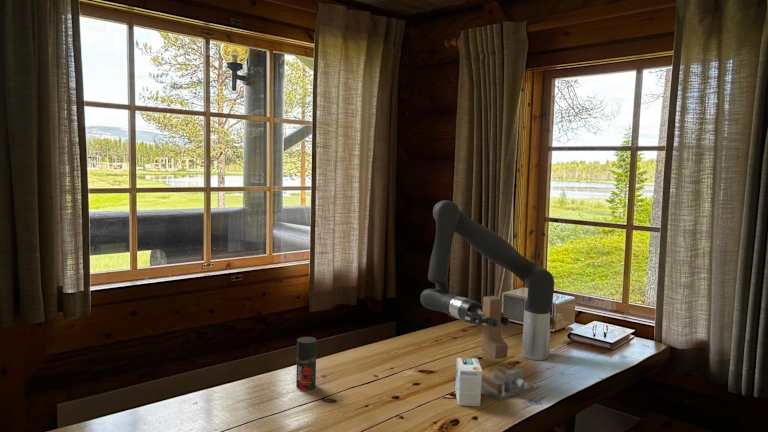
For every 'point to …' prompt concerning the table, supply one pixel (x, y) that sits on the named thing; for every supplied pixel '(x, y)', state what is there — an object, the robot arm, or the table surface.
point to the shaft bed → (509, 384)
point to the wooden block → (493, 329)
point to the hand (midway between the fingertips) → (502, 322)
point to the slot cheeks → (493, 383)
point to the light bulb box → (468, 381)
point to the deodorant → (306, 363)
